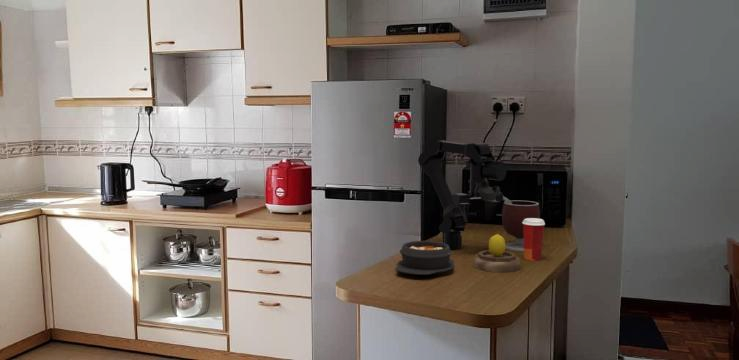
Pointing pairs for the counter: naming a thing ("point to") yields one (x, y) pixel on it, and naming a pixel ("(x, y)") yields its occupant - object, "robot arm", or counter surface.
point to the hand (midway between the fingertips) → (477, 220)
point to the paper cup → (533, 238)
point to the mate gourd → (517, 220)
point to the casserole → (425, 258)
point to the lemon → (497, 245)
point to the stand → (496, 262)
